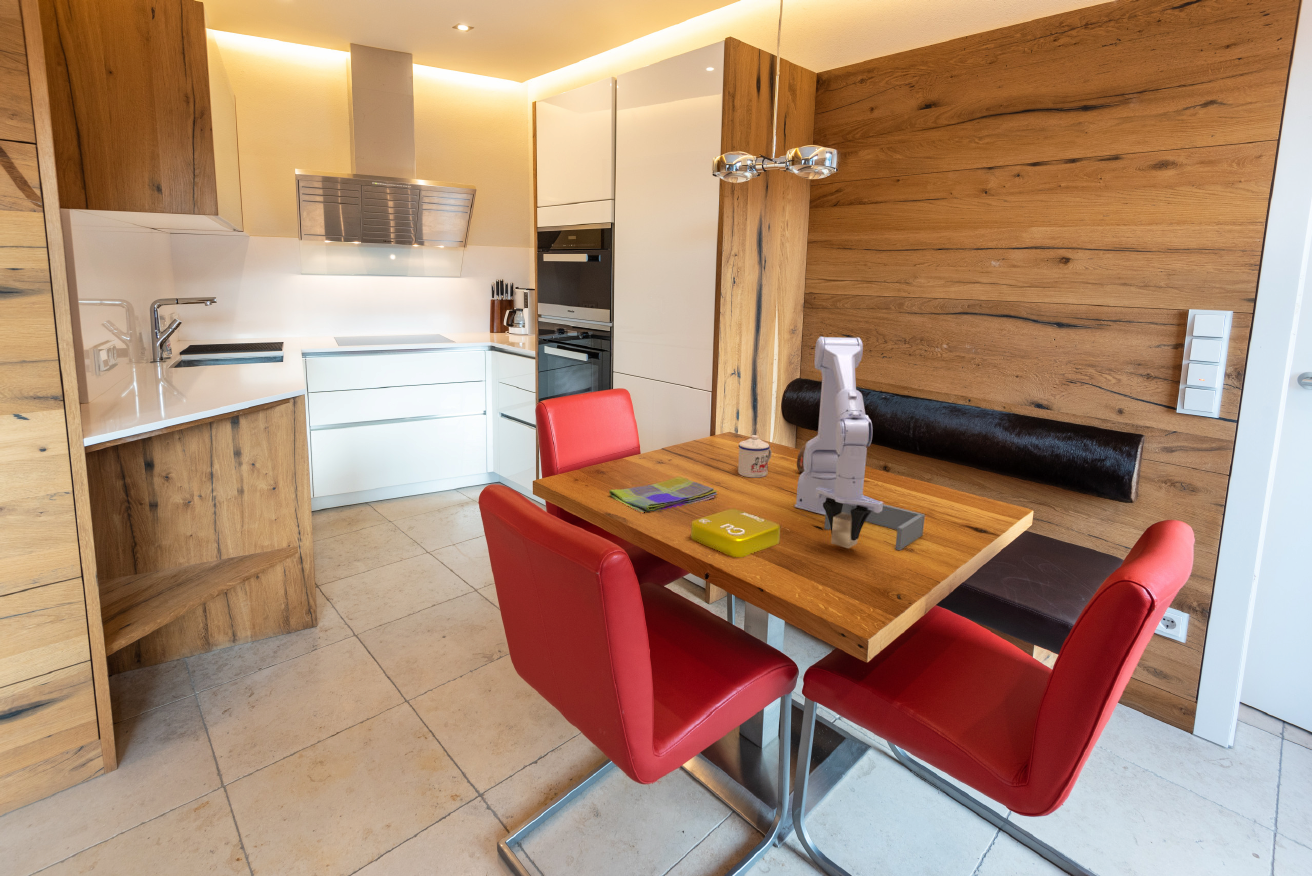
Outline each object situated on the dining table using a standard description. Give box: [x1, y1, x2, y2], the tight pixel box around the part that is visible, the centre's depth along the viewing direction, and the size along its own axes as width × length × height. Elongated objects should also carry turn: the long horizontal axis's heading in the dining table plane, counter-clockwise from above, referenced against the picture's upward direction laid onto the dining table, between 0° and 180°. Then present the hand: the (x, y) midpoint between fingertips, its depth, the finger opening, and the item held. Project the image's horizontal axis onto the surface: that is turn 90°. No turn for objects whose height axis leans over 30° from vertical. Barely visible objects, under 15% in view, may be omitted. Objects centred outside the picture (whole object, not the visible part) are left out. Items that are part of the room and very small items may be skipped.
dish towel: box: [608, 476, 718, 513], centre depth 176 cm, size 18×24×3 cm
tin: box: [796, 444, 806, 473], centre depth 203 cm, size 15×3×8 cm, turn 141°
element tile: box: [690, 508, 781, 558], centre depth 148 cm, size 15×15×5 cm
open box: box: [823, 503, 926, 551], centre depth 153 cm, size 18×12×5 cm
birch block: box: [830, 512, 859, 549], centre depth 143 cm, size 4×4×6 cm
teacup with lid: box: [737, 434, 773, 479], centre depth 198 cm, size 12×9×12 cm
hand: (844, 536), depth 143 cm, fingers closed on birch block, 4 cm apart
